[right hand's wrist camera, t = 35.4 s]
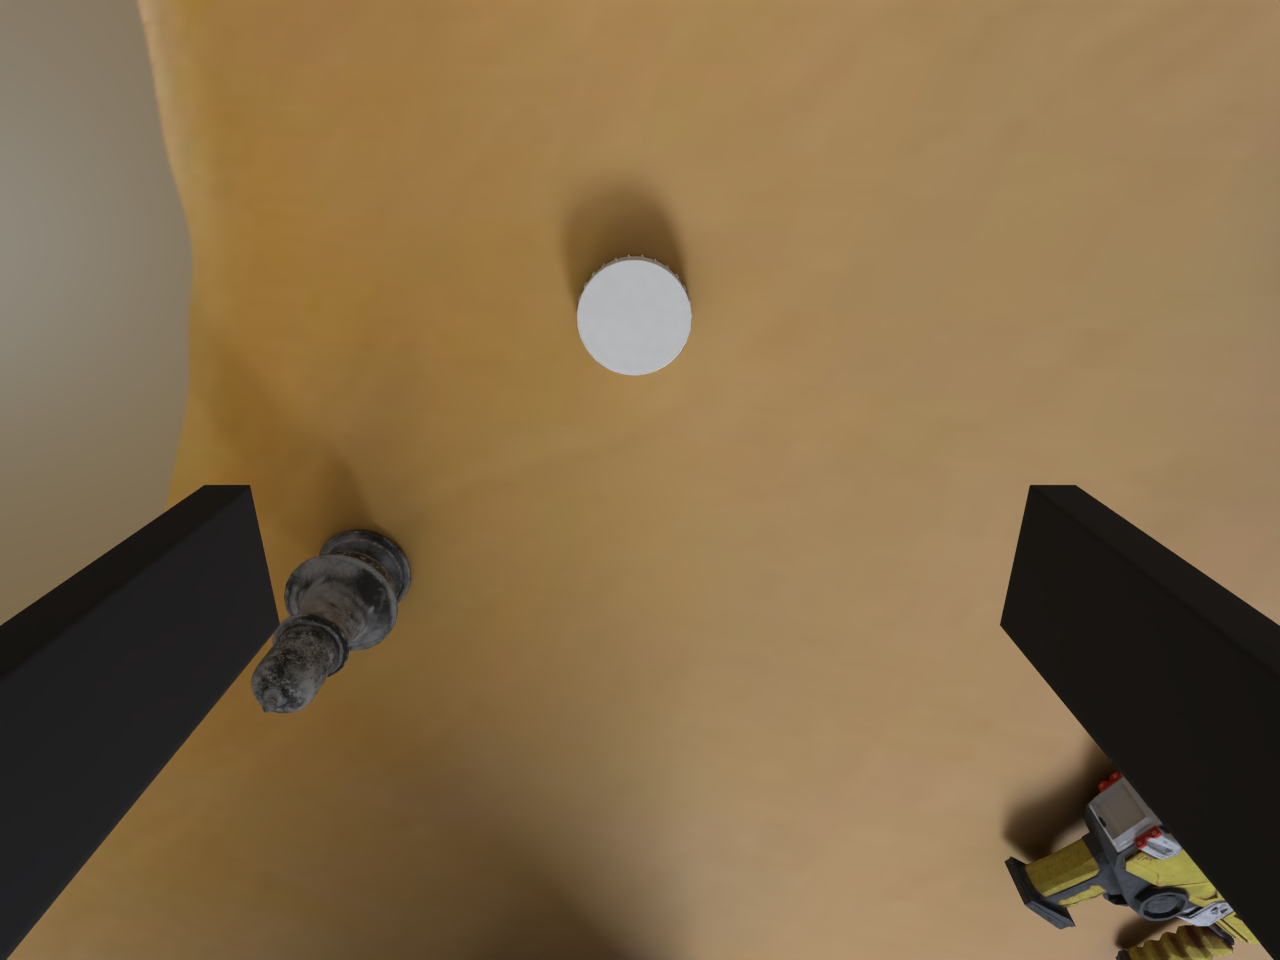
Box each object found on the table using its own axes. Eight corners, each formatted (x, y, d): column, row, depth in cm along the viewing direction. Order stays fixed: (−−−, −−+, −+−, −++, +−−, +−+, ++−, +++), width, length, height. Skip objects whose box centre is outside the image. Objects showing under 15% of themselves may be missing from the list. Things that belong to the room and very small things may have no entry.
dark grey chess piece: (301, 594, 42) (180, 739, 31) (327, 509, 40) (209, 632, 29) (398, 629, 43) (315, 783, 32) (429, 548, 41) (352, 682, 30)
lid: (571, 259, 36) (568, 263, 34) (686, 248, 36) (688, 252, 34) (585, 372, 38) (582, 381, 36) (694, 362, 38) (696, 371, 36)
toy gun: (1236, 1050, 53) (1434, 948, 47) (990, 945, 47) (1181, 813, 41) (1193, 980, 57) (1370, 878, 51) (963, 876, 52) (1132, 747, 46)
